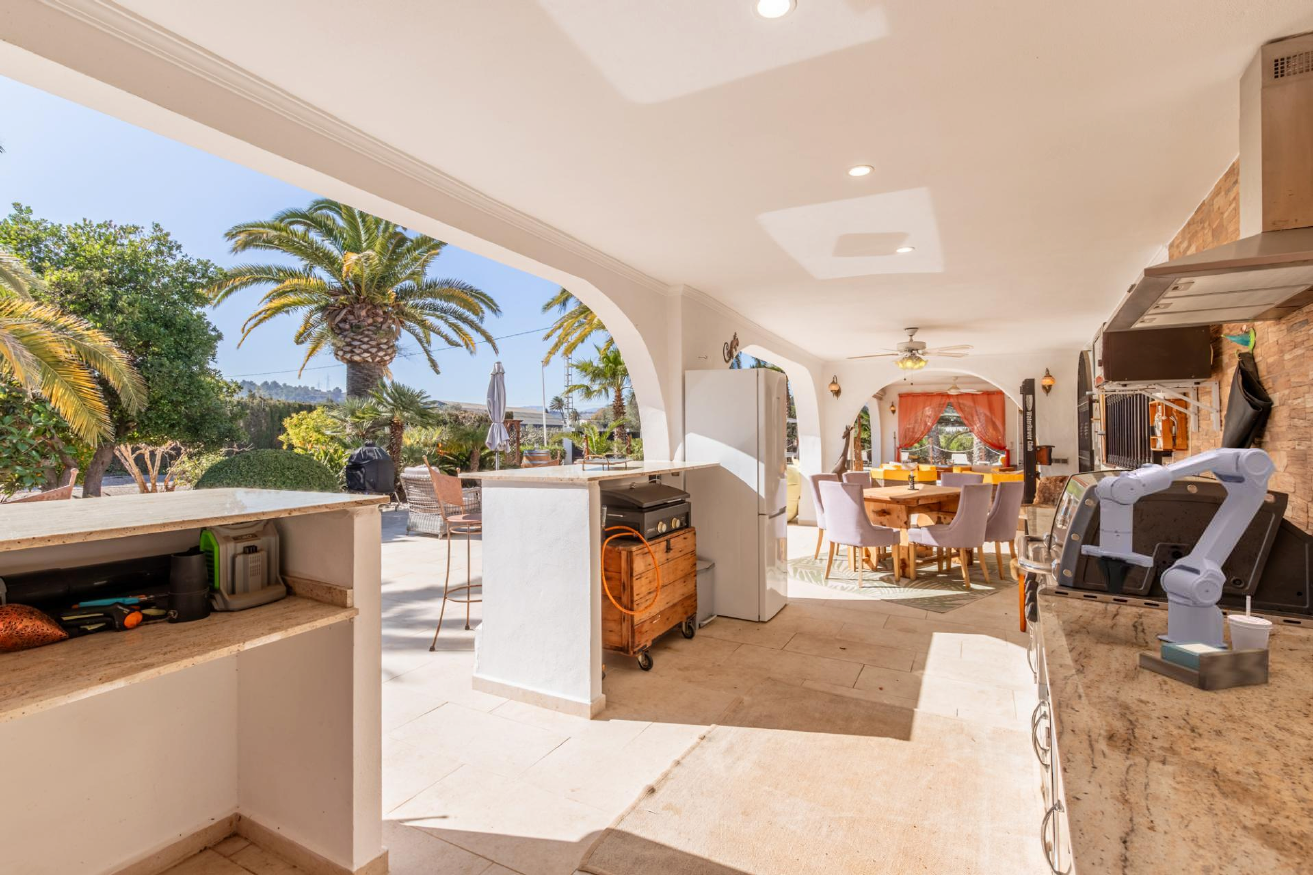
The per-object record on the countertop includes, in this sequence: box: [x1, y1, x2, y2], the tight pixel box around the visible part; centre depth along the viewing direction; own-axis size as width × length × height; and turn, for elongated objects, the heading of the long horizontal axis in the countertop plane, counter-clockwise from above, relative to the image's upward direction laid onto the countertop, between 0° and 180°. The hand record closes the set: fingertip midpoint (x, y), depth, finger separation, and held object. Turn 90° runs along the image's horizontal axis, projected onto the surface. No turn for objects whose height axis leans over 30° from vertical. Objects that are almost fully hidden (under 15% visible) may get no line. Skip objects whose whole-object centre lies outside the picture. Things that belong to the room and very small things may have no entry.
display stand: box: [1138, 648, 1270, 691], centre depth 116 cm, size 15×12×6 cm
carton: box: [1160, 641, 1229, 672], centre depth 117 cm, size 9×7×5 cm
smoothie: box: [1226, 595, 1274, 651], centre depth 119 cm, size 6×6×14 cm
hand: (1114, 592), depth 136 cm, fingers closed
